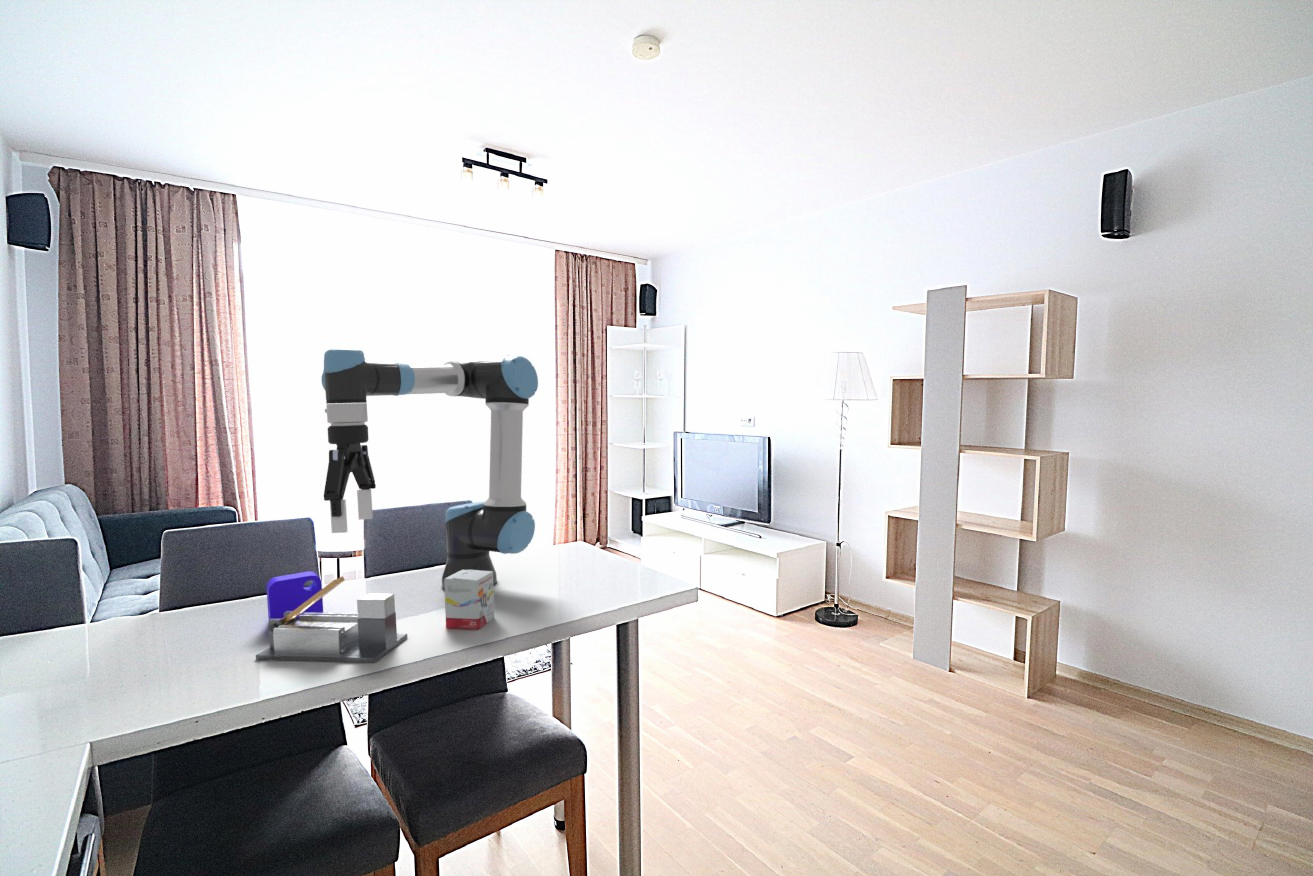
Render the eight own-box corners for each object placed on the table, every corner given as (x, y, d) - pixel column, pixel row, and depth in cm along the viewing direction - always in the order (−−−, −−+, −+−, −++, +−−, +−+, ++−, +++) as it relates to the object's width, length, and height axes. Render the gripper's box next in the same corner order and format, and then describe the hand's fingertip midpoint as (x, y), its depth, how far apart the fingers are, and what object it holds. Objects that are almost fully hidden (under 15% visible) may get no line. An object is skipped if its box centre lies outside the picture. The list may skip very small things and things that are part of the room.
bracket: (323, 621, 150) (321, 573, 149) (271, 632, 143) (268, 582, 142) (311, 603, 164) (308, 559, 163) (262, 612, 157) (259, 567, 157)
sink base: (298, 635, 141) (296, 603, 140) (407, 638, 138) (405, 605, 137) (255, 659, 128) (253, 624, 127) (374, 662, 125) (373, 627, 124)
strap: (285, 627, 135) (280, 620, 135) (346, 581, 133) (341, 574, 133) (275, 632, 132) (270, 625, 132) (337, 585, 130) (332, 578, 130)
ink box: (478, 630, 141) (476, 579, 141) (444, 628, 143) (442, 578, 142) (495, 617, 150) (493, 569, 149) (463, 615, 152) (461, 568, 151)
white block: (368, 611, 133) (367, 593, 133) (395, 612, 133) (394, 593, 133) (357, 618, 129) (356, 599, 129) (385, 618, 129) (384, 599, 129)
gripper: (353, 422, 140) (358, 514, 142) (299, 427, 116) (306, 539, 117) (387, 421, 141) (392, 513, 142) (341, 426, 116) (347, 537, 118)
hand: (353, 525), depth 130 cm, fingers open, 13 cm apart
